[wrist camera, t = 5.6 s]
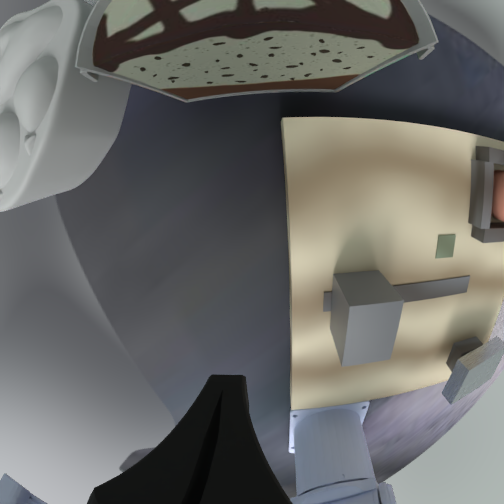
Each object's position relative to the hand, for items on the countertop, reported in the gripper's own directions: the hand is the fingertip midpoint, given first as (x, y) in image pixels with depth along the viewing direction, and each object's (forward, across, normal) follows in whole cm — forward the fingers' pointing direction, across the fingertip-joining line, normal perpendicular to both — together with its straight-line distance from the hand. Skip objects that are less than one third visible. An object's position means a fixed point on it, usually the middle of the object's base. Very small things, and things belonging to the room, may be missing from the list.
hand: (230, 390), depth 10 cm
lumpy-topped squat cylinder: (+10, +12, -14) cm, 21 cm away
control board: (+9, -13, 0) cm, 16 cm away
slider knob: (+7, -7, 0) cm, 10 cm away
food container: (+10, -2, -16) cm, 18 cm away
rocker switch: (+4, -19, +7) cm, 21 cm away
